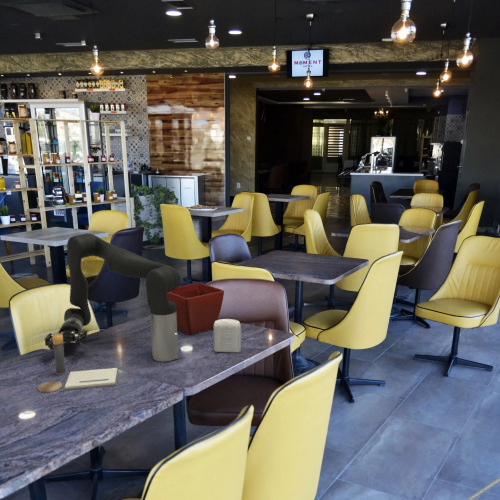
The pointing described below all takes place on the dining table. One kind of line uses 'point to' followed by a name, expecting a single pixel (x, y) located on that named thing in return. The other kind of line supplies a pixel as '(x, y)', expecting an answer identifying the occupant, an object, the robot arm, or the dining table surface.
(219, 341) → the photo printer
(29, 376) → the dining table surface
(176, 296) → the plant pot
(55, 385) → the coaster
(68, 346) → the dining table surface
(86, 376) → the notepad
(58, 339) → the marker
